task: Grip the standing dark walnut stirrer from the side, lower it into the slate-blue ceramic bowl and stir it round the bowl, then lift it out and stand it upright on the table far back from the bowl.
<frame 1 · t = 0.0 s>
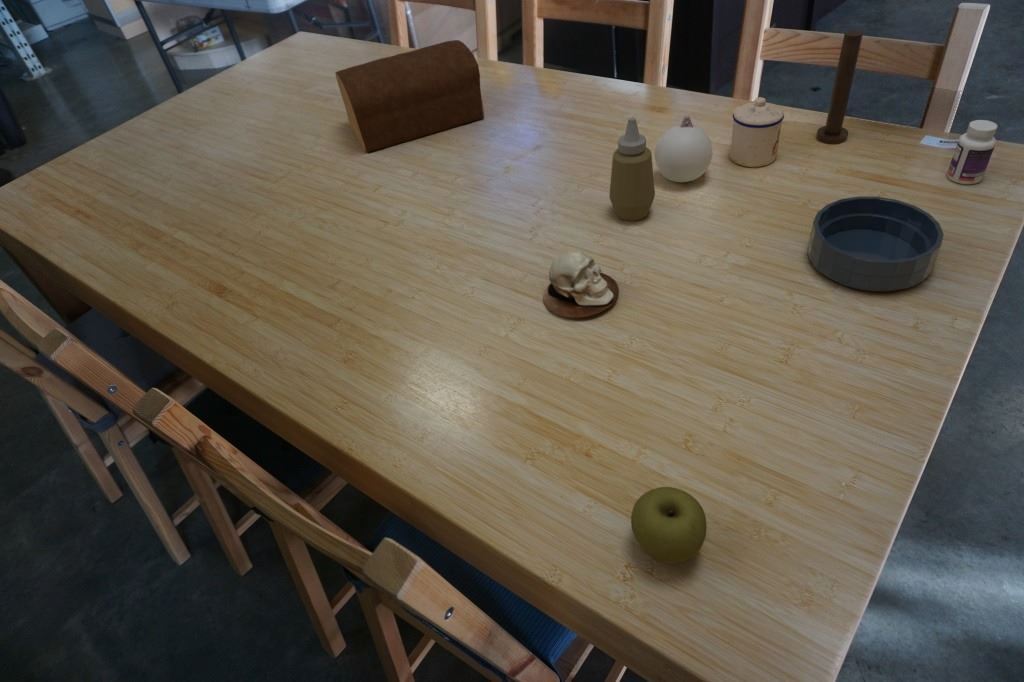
bread: (417, 124, 161), on the table
pill bottle: (963, 178, 117), on the table
squeeze bottle: (632, 213, 122), on the table
apple: (666, 544, 74), on the table
stirrer: (831, 137, 133), on the table
teacup with lid: (751, 154, 132), on the table
bowl: (867, 259, 105), on the table
ornament: (681, 178, 129), on the table
skull: (580, 296, 107), on the table
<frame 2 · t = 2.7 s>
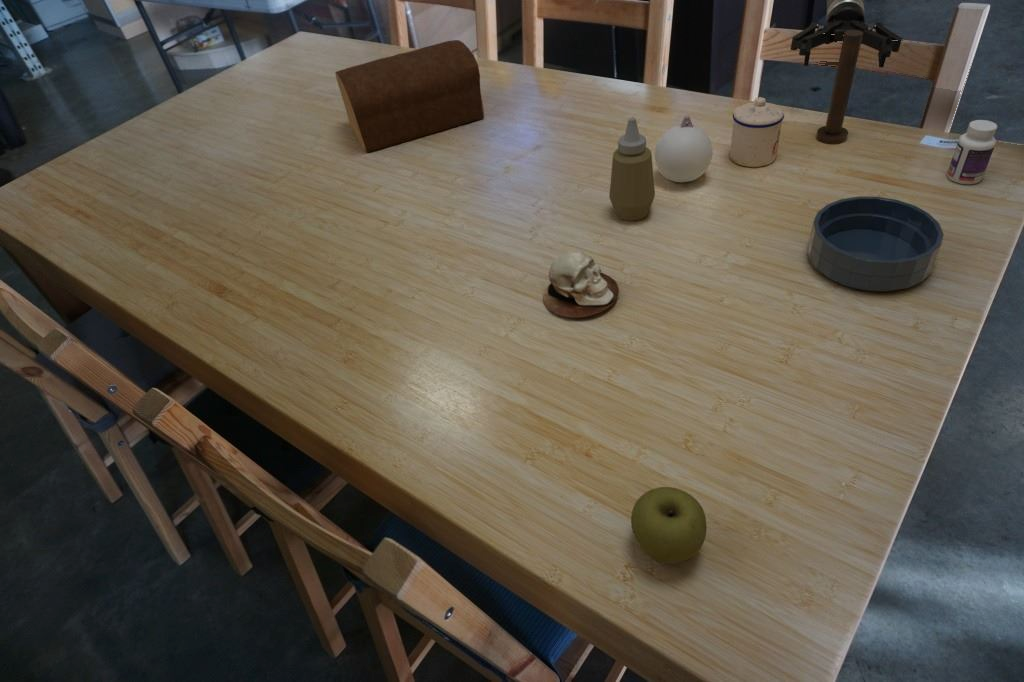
hand: (844, 59, 131), 12 cm above the table, tool horizontal, fingers open, 13 cm apart
nothing on the table moved.
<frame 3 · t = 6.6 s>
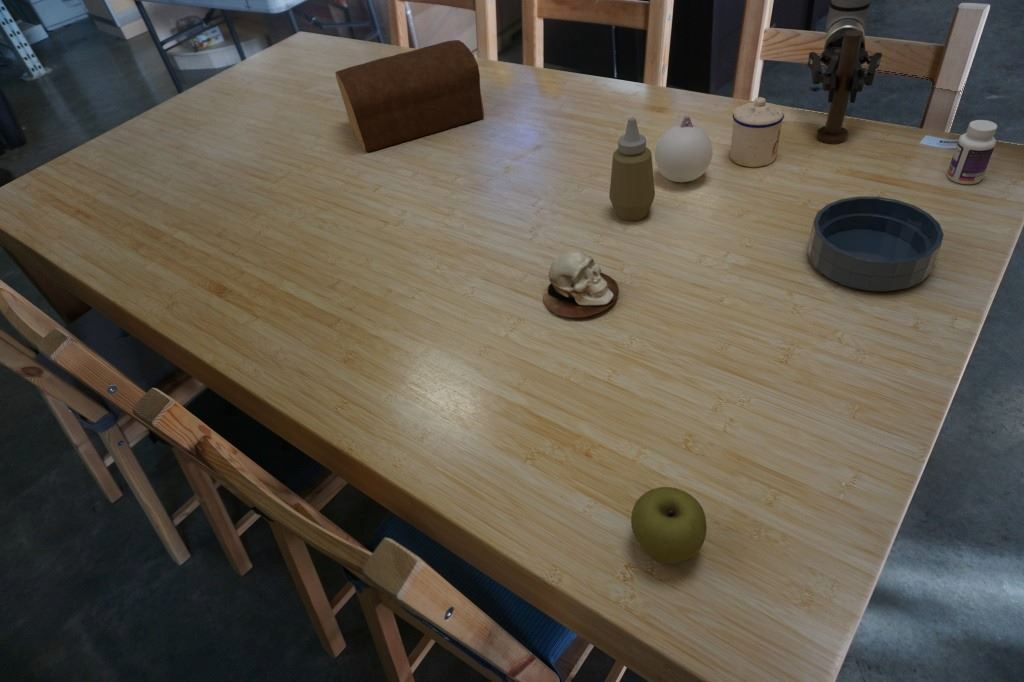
hand: (842, 95, 122), 11 cm above the table, tool horizontal, fingers closed on stirrer, 3 cm apart
stirrer: (831, 137, 133), on the table, touching gripper
everything else where it was.
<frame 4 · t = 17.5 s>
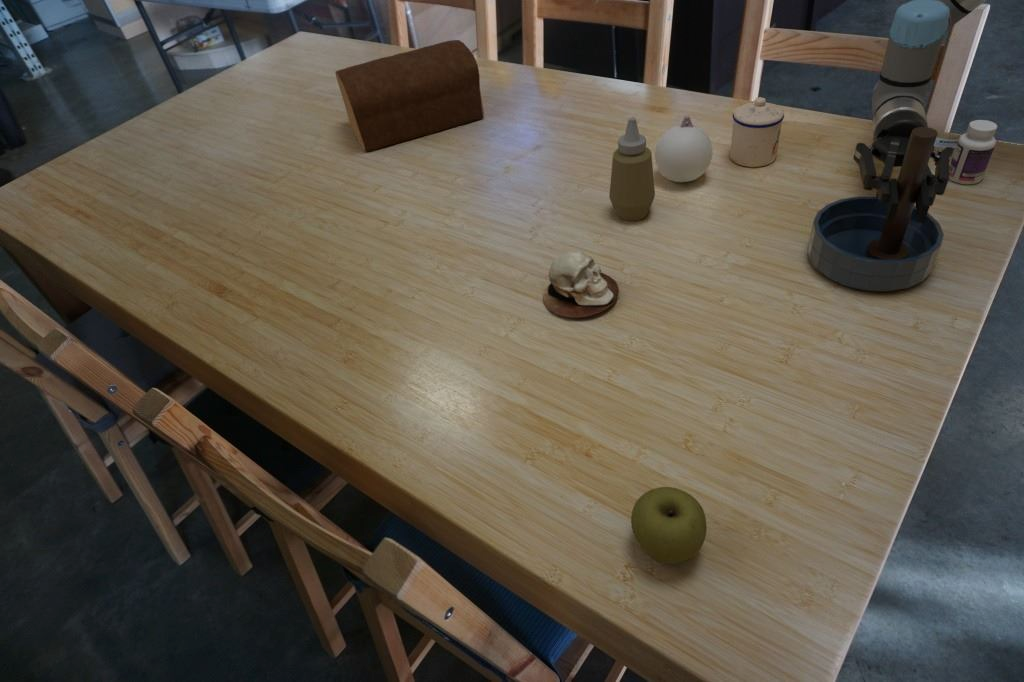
hand: (908, 212, 91), 13 cm above the table, tool horizontal, fingers closed on stirrer, 3 cm apart
stirrer: (886, 255, 102), point 2 cm above the table, touching gripper
everything else where it was.
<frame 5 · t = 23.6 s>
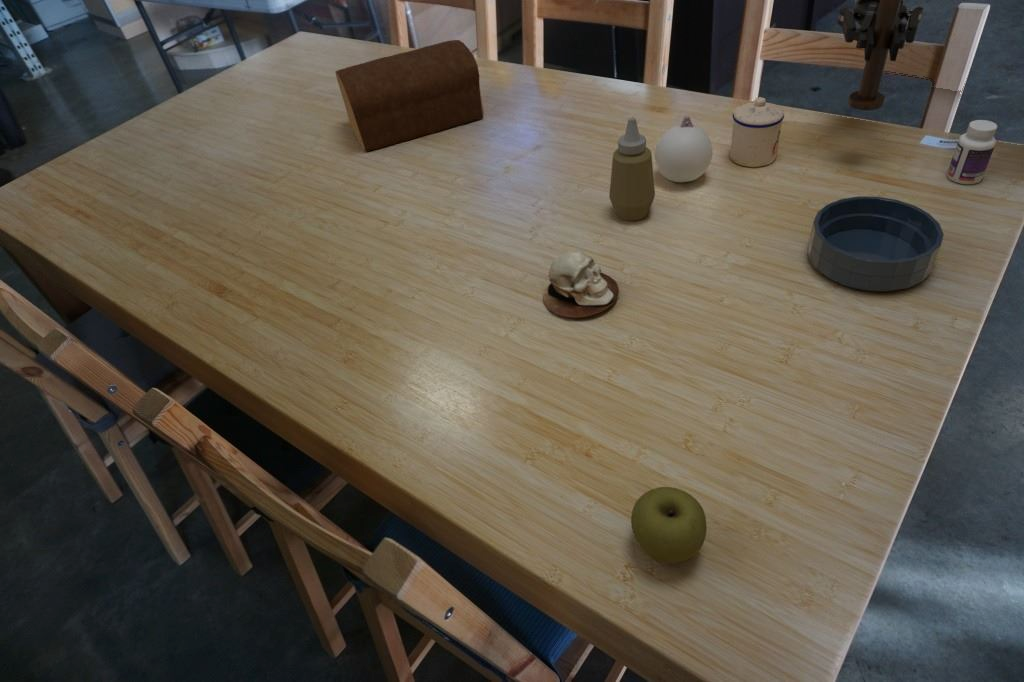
hand: (882, 52, 107), 22 cm above the table, tool horizontal, fingers closed on stirrer, 3 cm apart
stirrer: (865, 103, 118), point 11 cm above the table, touching gripper
everything else where it was.
when the fingers open (11 cm above the table, at t = 28.5 s): stirrer stays where it is, on the table.
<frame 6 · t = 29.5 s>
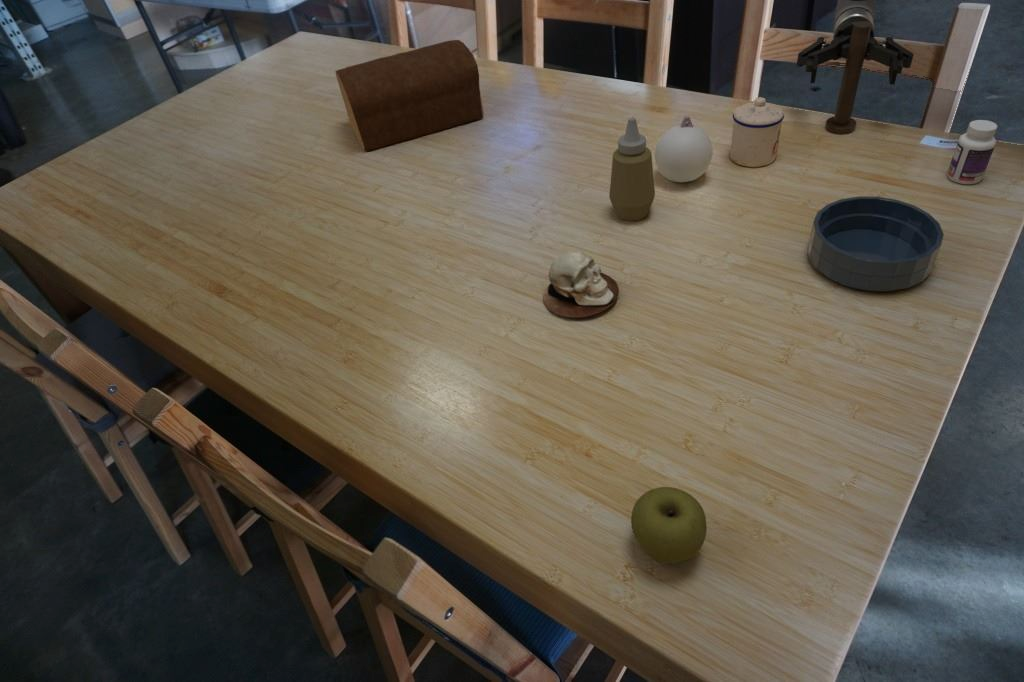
hand: (853, 76, 125), 12 cm above the table, tool horizontal, fingers open, 13 cm apart
stirrer: (839, 127, 135), on the table
everything else where it was.
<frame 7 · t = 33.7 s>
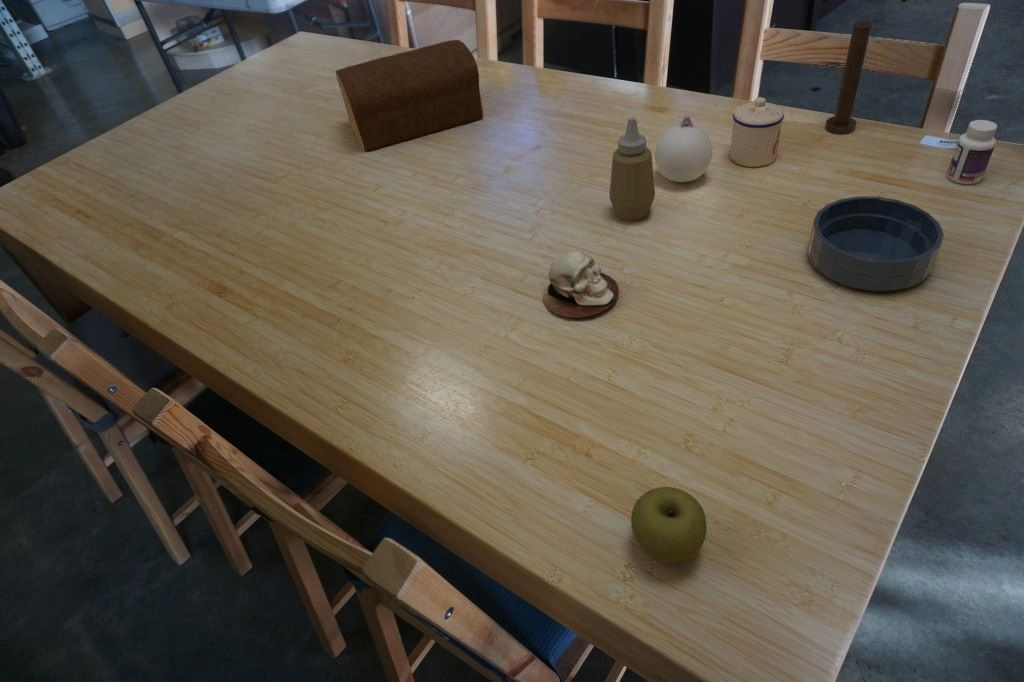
nothing on the table moved.
at the end: stirrer 0.0 cm from the target spot on the table beside the bowl, on the table; stirrer tilted 0°; the gripper is holding nothing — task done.
